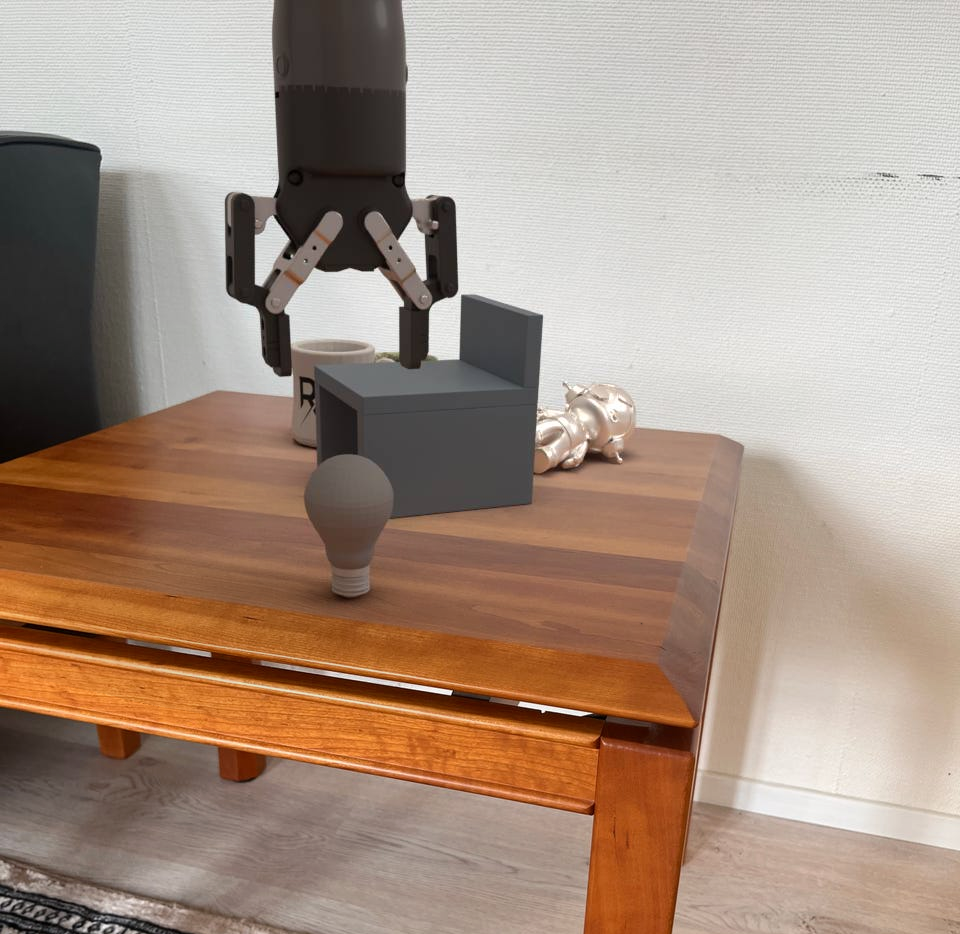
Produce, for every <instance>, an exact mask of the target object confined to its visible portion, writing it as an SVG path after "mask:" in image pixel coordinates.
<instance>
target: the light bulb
mask: <svg viewBox="0 0 960 934" xmlns="http://www.w3.org/2000/svg"><path fill="white" fill-rule="evenodd" d="M303 503H304V508H305V511H306V514H307V518H308V520H309V521H310V523H311V524H312V526H313V528H314V530H315V531H316V533H317V534H318V535H319V537H320V539H321V541H322V543H323V545H324V548H325V549H324V550H325V555H326V557H327V560H328V562H329V563H330V569H331V570H330V572H331V590H332V592H333V593H335V594H337V595H339V596H342V597H345V598H350V599H351V598H357V597H359V596H361V595H364V594H366V593H368V592H369V591H370V589H371V584H370V581H371V579H370V571H371V569H370V568H371V567H370V566H371V562H372V560H373V558H374V556H375V547H376V544H377V541H378V539H379V537H380V536H381V534H382V532H383V531H384V529H385V528H386V526H387V523H388V522H389V520H390V519H391V518H390V516H391V513H392V509H393V490H392V486H391V484H390V482H389V480H388V478H387V476H386V475H385V473H384V472H383V471H382V470H381V469H380V468H379V466H378V465H376V464H375V463H374V462H372V461H371V460H370V459H367V458H365V457H362V456H359V455H352V454H344V455H337V456H334V457H331V458H329V459H327V460H325V461H324V462H323V463H321V464H320V465H319V466H318V467H317V466H316V468H315V469H314V471H313V472H312V473H311V474H310V476H309V478H308V479H307V482H306V485H305V488H304V493H303Z"/></svg>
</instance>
